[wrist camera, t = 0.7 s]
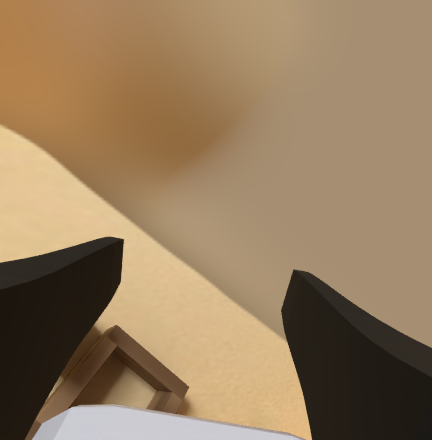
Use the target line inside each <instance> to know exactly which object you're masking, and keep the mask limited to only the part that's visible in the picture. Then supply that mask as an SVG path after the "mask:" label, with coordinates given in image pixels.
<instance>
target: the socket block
mask: <svg viewBox="0 0 432 440" xmlns="http://www.w3.org/2000/svg"><path fill="white" fill-rule="evenodd" d="M111 353H113V354H114V355H116V356H117V357H118V358H119V359H120V360H122V361H123V362H124V363H125V364H126V365H128V366H129V367H130V368H131V369H132V370H134V371H135V372H136V373H137V374H138V375H139V376H141V377H142V378H143V379H144V380H145V381H147V382H148V383H149V384H150V385H151V386H153V387H154V388H155V389H156V390H157V392H156V394H155V395H154V397H153V399H152V401H151V402H150V404H149V406H148V407H147V409H148V410H154V411H160V412H166V413H172V414H176V412H177V410H178V408H179V406H180V404H181V402H182V400H183V398H184V396H185V394H186V392H187V390H188V389H189V386H187V385H186V384H185V383H184V382H183V381H182V380H180V379H179V378H178V377H177V376H176V375H175V374H173V373H172V372H171V371H170V370H169V369H168V368H166V367H165V366H164V365H163V364H162V363H161V362H159V361H158V360H157V359H156V358H155V357H154V356H152V355H151V354H150V353H149V352H148V351H147V350H145V349H144V348H143V347H142V346H141V345H140V344H138V343H137V342H136V341H135V340H134V339H133V338H131V337H130V336H129V335H128V334H127V333H126V332H124V331H123V330H122V329H121V328H120V327H119V326H117V325H115V326H113V327H111V328H109V329H107V330H106V331H105V332H104V334H103V335H102V336H101V337H100V338H99V340H98V341H97V342H96V343H95V344H94V345H93V347H92V348H91V349H90V350H89V351H88V352H87V354H86V355H85V356H84V357H83V358H82V360H81V361H80V362H79V363H78V364H77V365H76V367H75V368H74V369H73V370H72V371H71V372H70V374H69V375H68V376H67V377H66V378H65V379H64V381H63V382H62V383H61V384H60V385H59V387H58V388H57V389H56V390H55V391H54V392H53V394H52V395H51V396H50V397H49V398H48V399H47V401H46V402H45V403H44V405H43V407H42V408H41V410H40V412H39V414H38V416H37V418H36V419H35V421H34V423H33V425H32V427H31V429H30V431H29V433H28V435H27V436H26V438H25V440H32V439H33V437H34V436H35V434H36V433H37V431H38V430H39V428H40V426H41V425H42V423H44V422H46V421H48V420H50V419H52V418H53V417H55V416H57V415H59V414H61V413H62V412H64V411H66V410H67V409H68V408H69V406H70V405H71V404H72V402H73V401H74V400H75V399H76V397H77V396H78V395H79V394H80V392H81V391H82V390H83V388H84V387H85V386H86V385H87V383H88V382H89V381H90V380H91V378H92V377H93V376H94V374H95V373H96V372H97V371H98V369H99V368H100V367H101V365H102V364H103V363H104V362H105V360H106V359H107V358H108V357H109V355H110V354H111Z"/></svg>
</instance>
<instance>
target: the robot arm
mask: <svg viewBox="0 0 432 440" xmlns="http://www.w3.org/2000/svg"><path fill="white" fill-rule="evenodd" d="M123 244H124V239H120V238H114V237H104V238H100V239H96V240H92V241H89V242H86V243H82V244H79V245H76V246H72V247H69V248H65V249H62V250H58V251H54V252H50V253H47V254H43V255H39V256H34V257H29V258H25V259H19V260H14V261H8V262H2V263H0V440H25V438H26V436H27V435H28V433H29V431H30V429H31V427H32V425H33V423H34V421H35V419H36V418H37V416H38V414H39V412H40V410H41V408H42V407H43V405H44V403H45V401H46V399H47V398H48V396H49V394H50V392H51V390H52V389H53V387H54V385H55V383H56V382H57V380H58V378H59V376H60V375H61V373H62V371H63V370H64V368H65V366H66V364H67V363H68V361H69V359H70V358H71V356H72V355H73V353H74V352H75V350H76V349H77V347H78V346H79V344H80V343H81V342H82V340H83V339H84V337H85V336H86V335H87V333H88V332H89V331H90V329H91V328H92V326H93V325H94V324H95V322H96V321H97V320H98V318H99V317H100V315H101V314H102V313H103V311H104V310H105V308H106V307H107V306H108V304H109V303H110V301H111V300H112V298H113V296H114V294H115V292H116V290H117V288H118V286H119V284H120V282H121V271H122V258H123ZM281 312H282V319H283V325H284V331H285V335H286V339H287V342H288V345H289V349H290V352H291V355H292V358H293V361H294V365H295V368H296V371H297V374H298V378H299V381H300V384H301V388H302V392H303V395H304V400H305V405H306V410H307V415H308V420H309V425H310V430H311V436H312V440H432V348H431V347H428V346H427V345H424V344H422V343H420V342H418V341H416V340H414V339H412V338H410V337H408V336H407V335H404V334H403V333H401V332H399V331H397V330H396V329H394V328H392V327H390V326H388V325H387V324H385V323H383V322H381V321H380V320H378V319H376V318H375V317H373V316H372V315H370V314H369V313H367V312H366V311H364V310H362V309H361V308H359V307H358V306H356V305H355V304H353V303H352V302H351V301H349V300H348V299H346V298H345V297H344V296H342V295H341V294H339V293H338V292H337V291H335V290H334V289H332V288H331V287H330V286H328V285H327V284H326V283H324V282H323V281H321V280H320V279H319V278H317V277H315V276H314V275H312V274H311V273H309V272H305V271H299V270H293V273H292V276H291V280H290V283H289V286H288V289H287V293H286V296H285V300H284V303H283V306H282V310H281ZM32 440H306V439H303V438H300V437H298V436H295V435H293V434H290V433H286V432H280V431H274V430H268V429H262V428H256V427H250V426H244V425H238V424H232V423H226V422H220V421H214V420H208V419H202V418H196V417H190V416H184V415H178V414H172V413H166V412H160V411H154V410H148V409H142V408H136V407H130V406H124V405H118V404H103V405H79V406H75V407H71V408H70V409H68V410H66V411H64V412H62V413H61V414H59V415H57V416H55V417H53V418H52V419H50V420H48V421H46V422H44V423H42V425H41V426H40V428H39V430H38V431H37V433H36V434H35V436H34V437H33V439H32Z"/></svg>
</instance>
